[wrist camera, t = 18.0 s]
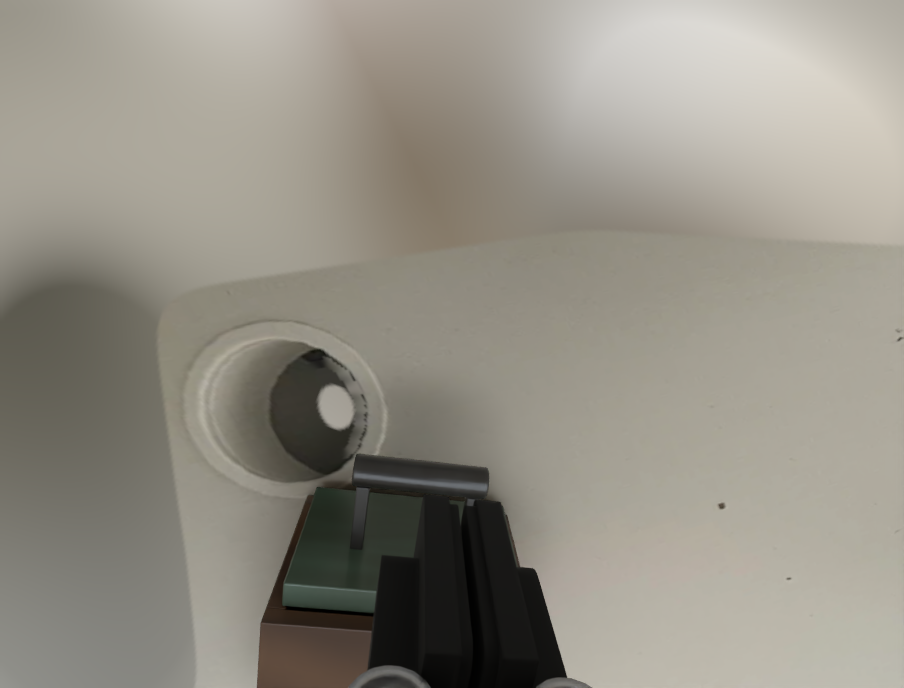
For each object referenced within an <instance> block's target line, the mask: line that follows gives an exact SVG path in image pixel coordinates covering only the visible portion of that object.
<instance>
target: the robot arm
mask: <svg viewBox="0 0 904 688" xmlns="http://www.w3.org/2000/svg"><path fill="white" fill-rule="evenodd" d="M348 688H592V687H590V686H588V685H587V684H585V683H583V682H580V681H577V680H574V679H571V678H567V675H566V672H565V668H564V665H563V661H562V658H561V654H560V651H559V648H558V644H557V641H556V637H555V634H554V630H553V627H552V623H551V620H550V616H549V613H548V610H547V606H546V603H545V599H544V596H543V592H542V589H541V585H540V582H539V579H538V576H537V573H536V571H535V570H534V569H533V568H522V567H516V563H515V559H514V554H513V550H512V546H511V542H510V538H509V534H508V530H507V526H506V521H505V517H504V513H503V509H502V505H501V503H500V502H496V501H486V500H476V499H475V500H474V503H473V506H467V505H465V507H464V510H463V515H462V520H461V526H460V517H459V508H458V505H457V504H450V501H449V497H447V496H437V495H427V494H424V495H423V500H422V506H421V512H420V518H419V525H418V531H417V538H416V544H415V551H414V557H413V558H411V557H400V556H389V555H382V556H381V562H380V570H379V577H378V585H377V592H376V600H375V608H374V616H373V625H372V633H371V642H370V651H369V660H368V668H367V671H366V672H364V673H362V674H361V675H359V676H358V677H357V678H356V679H355V680H354V681H353V682H352V683H351V684H350V685H349V687H348Z"/></svg>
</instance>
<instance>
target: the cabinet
mask: <svg viewBox="0 0 904 688" xmlns="http://www.w3.org/2000/svg"><path fill="white" fill-rule="evenodd" d="M313 497H314V496H310V495H308V496H307V499H306V501H305V504H304V507H303V509H302V512H301V515H300V518H299V520H298V523H297V526H296V528H295V531H294V534H293V537H292V539H291V542H290V545H289V547H288V550H287V553H286V556H285V558H284V561H283V564H282V566H281V569H280V572H279V575H278V577H277V580H276V583H275V586H274V588H273V591H272V594H271V596H270V599H269V602H268V605H267V607H266V610H265V613H264V615H263V618H262V621H261V627H260V644H259V661H258V678H257V688H348V687H349V685H350V684H351V683H352V682H353V681H354V680H355V679H356V678H357V677H358V676H359V675H361V674H362V673H364V672H366V671H367V668H368V660H369V651H370V642H371V633H372V625H373V617H371V616H359V615H346V614H334V613H321V612H308V611H303V608H302V607H289V606H283V605H282V597H283V584H284V581H285V578H286V575H287V572H288V569H289V566H290V563H291V560H292V558H293V555H294V552H295V549H296V546H297V543H298V540H299V537H300V535H301V532H302V529H303V526H304V523H305V520H306V517H307V514H308V511H309V509H310V506H311V503H312V500H313ZM505 517H506V521H507V525H508V529H509V533H510V537H511V541H512V545H513V549H514V553H515V557H516V561H517V565H518V567H520V565H519V561H518V557H517V553H516V549H515V545H514V541H513V537H512V533H511V529H510V525H509V521H508V517H507V515H505Z"/></svg>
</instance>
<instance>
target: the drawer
mask: <svg viewBox="0 0 904 688" xmlns="http://www.w3.org/2000/svg"><path fill="white" fill-rule="evenodd" d="M352 485H353V486H357V487H356V491H353V490H343V489H333V488H323V487H317V488H316V491H315V494H314V497H313V500H312V503H311V506H310V509H309V511H308V514H307V517H306V520H305V523H304V526H303V529H302V532H301V535H300V537H299V540H298V543H297V546H296V549H295V552H294V555H293V558H292V560H291V563H290V566H289V569H288V572H287V575H286V578H285V581H284V584H283V597H282V605H283V606H289V607H302V608H303V611H308V612H321V613H334V614H346V615H359V616H371V617H373V616H374V608H375V600H376V592H377V585H378V577H379V570H380V562H381V556H382V555H389V556H400V557H411V558H413V557H414V551H415V544H416V538H417V531H418V525H419V518H420V512H421V506H422V500H423V498H422V497H412V496H402V495H392V494H382V493H373V492H370V488H380V489H390V490H400V491H409V492H419V493H429V494H439V495H449V496H458V497H465V501H464V502H461V501H452V500H449V501H450V504H457V505H458V508H459V517H460V526H461V520H462V515H463V510H464V507H465V505H467V506H473V503H474V500H475V499H476V500H480V499H485V498H486V496H487V493H488V487H489V471H488V468H486V467H477V466H468V465H458V464H449V463H440V462H431V461H421V460H412V459H403V458H394V457H384V456H375V455H366V454H357V455H356V457H355V462H354V468H353V476H352ZM502 509H503V513H504V517H505V512H504V508H503V506H502ZM505 521H506V517H505ZM506 526H507V530H508V534H509V538H510V542H511V546H512V550H513V554H514V559H515V563H516V567H518V565H517V561H516V557H515V553H514V549H513V545H512V541H511V537H510V533H509V529H508V525H507V521H506Z"/></svg>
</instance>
